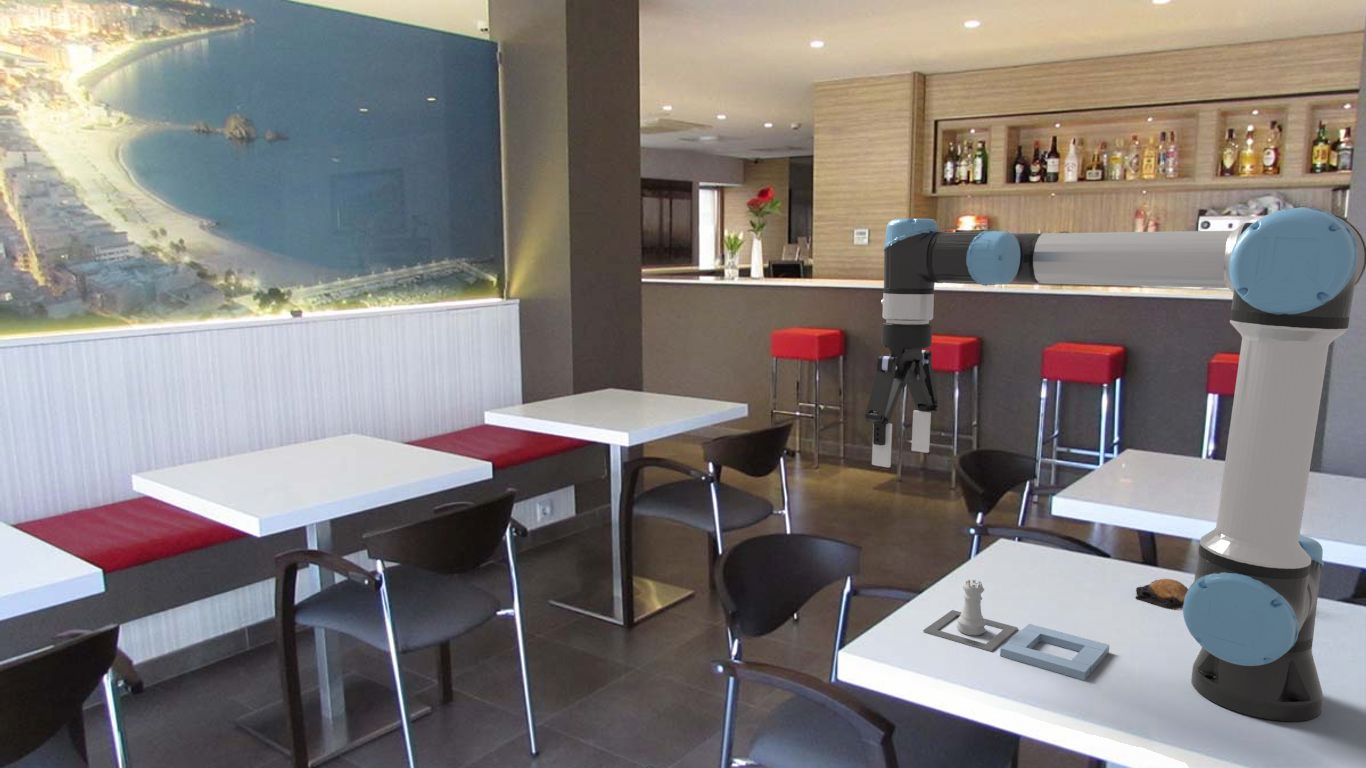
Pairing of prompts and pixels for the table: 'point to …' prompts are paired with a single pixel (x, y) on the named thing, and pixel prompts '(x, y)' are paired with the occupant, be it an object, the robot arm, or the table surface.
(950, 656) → the table surface
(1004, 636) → the bezel
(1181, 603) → the bread roll
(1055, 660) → the socket
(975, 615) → the rook chess piece
